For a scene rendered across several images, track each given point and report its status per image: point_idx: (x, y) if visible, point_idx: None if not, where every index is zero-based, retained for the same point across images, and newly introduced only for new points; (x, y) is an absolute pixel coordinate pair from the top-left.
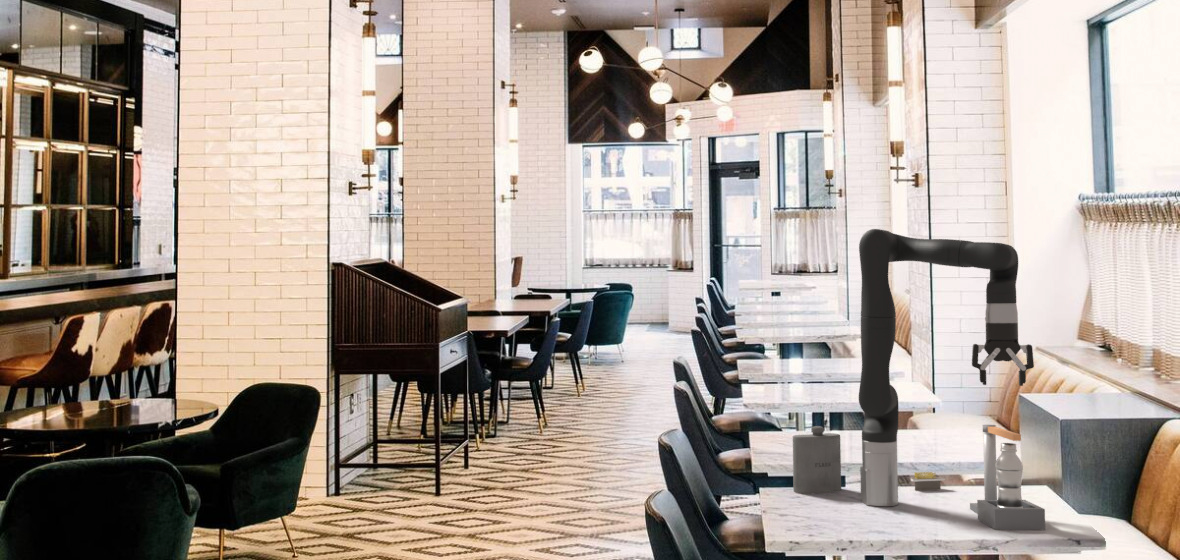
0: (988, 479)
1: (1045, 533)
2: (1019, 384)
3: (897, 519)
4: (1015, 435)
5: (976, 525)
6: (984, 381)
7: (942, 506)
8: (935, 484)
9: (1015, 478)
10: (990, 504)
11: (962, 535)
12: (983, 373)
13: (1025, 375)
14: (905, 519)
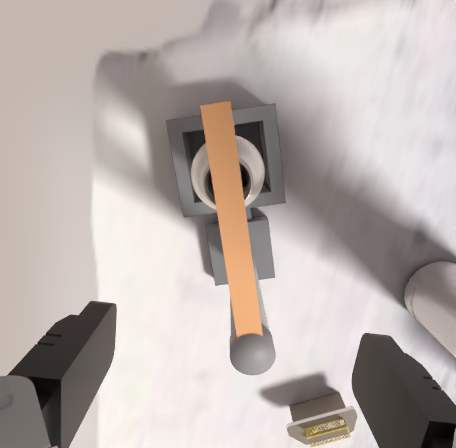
0: None
1: (180, 90)
2: (112, 333)
3: (436, 175)
4: (221, 102)
5: (295, 143)
6: (389, 346)
7: (315, 301)
8: (303, 417)
9: None
10: (270, 156)
11: (348, 46)
12: (437, 397)
13: (26, 356)
14: (420, 177)
